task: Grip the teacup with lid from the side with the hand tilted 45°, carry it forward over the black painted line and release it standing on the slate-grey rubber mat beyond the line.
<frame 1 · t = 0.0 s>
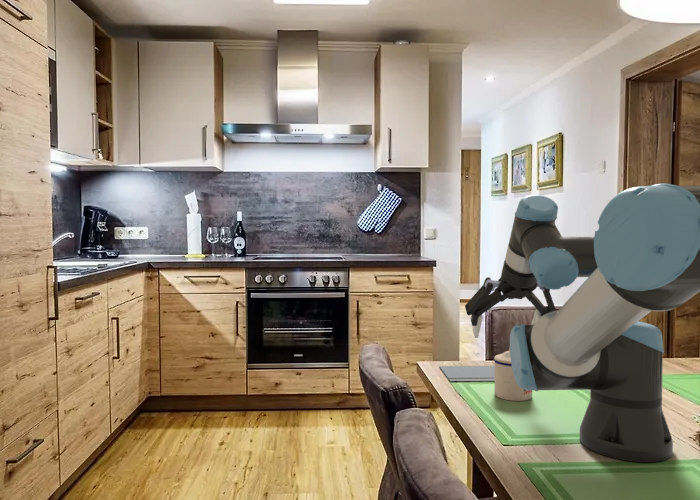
hand: (504, 333, 127), 15 cm above the table, tool tilted 35°, fingers open, 13 cm apart
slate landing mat: (479, 372, 150), on the table
teacup with lid: (513, 395, 130), on the table
black line strip: (489, 380, 142), on the table
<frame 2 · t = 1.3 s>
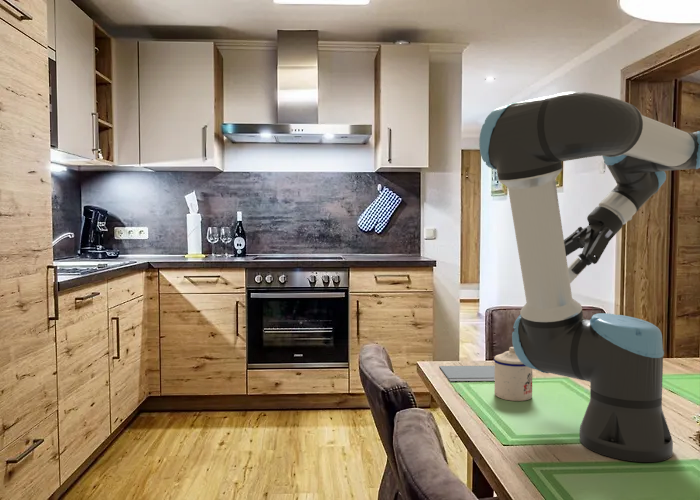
hand: (549, 279, 129), 28 cm above the table, tool tilted 45°, fingers open, 13 cm apart
nothing on the table moved.
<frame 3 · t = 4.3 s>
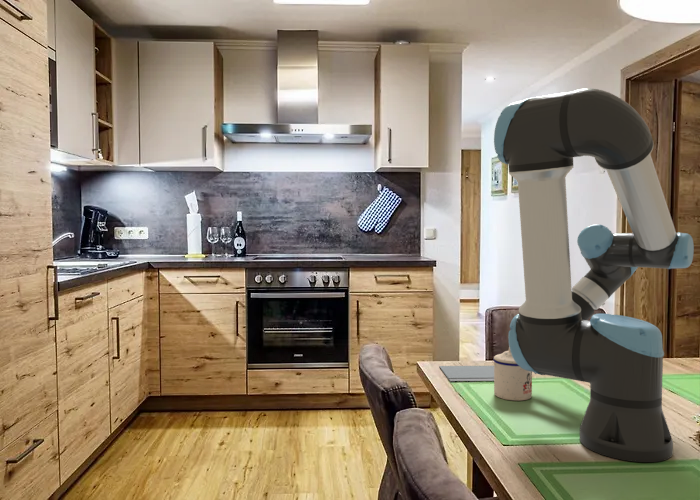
hand: (521, 363, 131), 7 cm above the table, tool tilted 45°, fingers open, 13 cm apart
teacup with lid: (513, 394, 130), on the table, touching gripper
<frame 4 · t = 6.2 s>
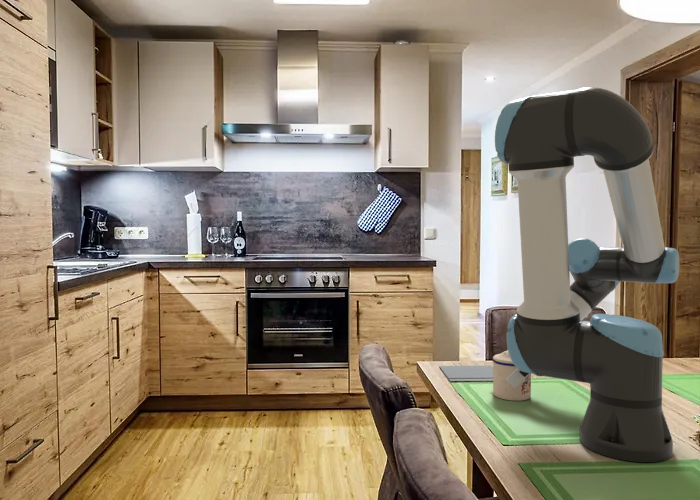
hand: (502, 377, 130), 4 cm above the table, tool tilted 45°, fingers closed on teacup with lid, 11 cm apart
teacup with lid: (512, 394, 130), on the table, touching gripper
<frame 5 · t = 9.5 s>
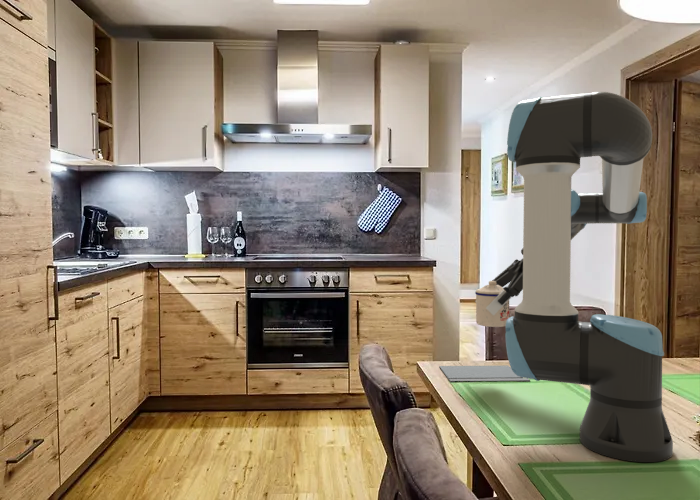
hand: (483, 308, 146), 19 cm above the table, tool tilted 45°, fingers closed on teacup with lid, 11 cm apart
teacup with lid: (493, 323, 147), point 14 cm above the table, touching gripper
when the fingers open (6 cm above the table, at t = 12.6 s): teacup with lid drops 2 cm, resting on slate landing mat.
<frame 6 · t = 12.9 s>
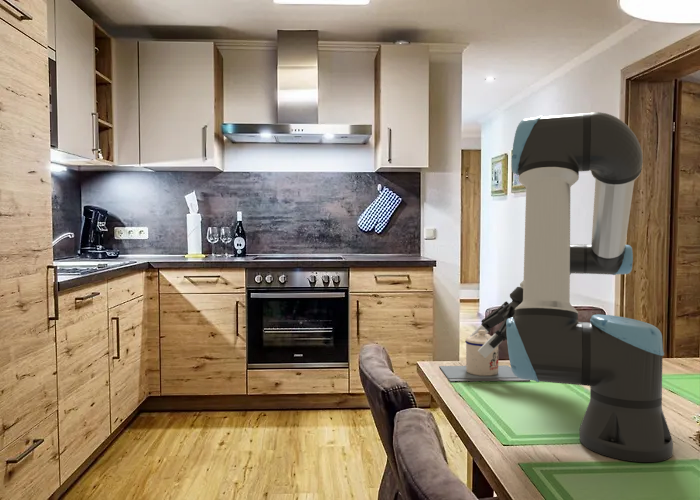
hand: (474, 349, 150), 7 cm above the table, tool tilted 45°, fingers open, 13 cm apart
teacup with lid: (483, 371, 150), resting on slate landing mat
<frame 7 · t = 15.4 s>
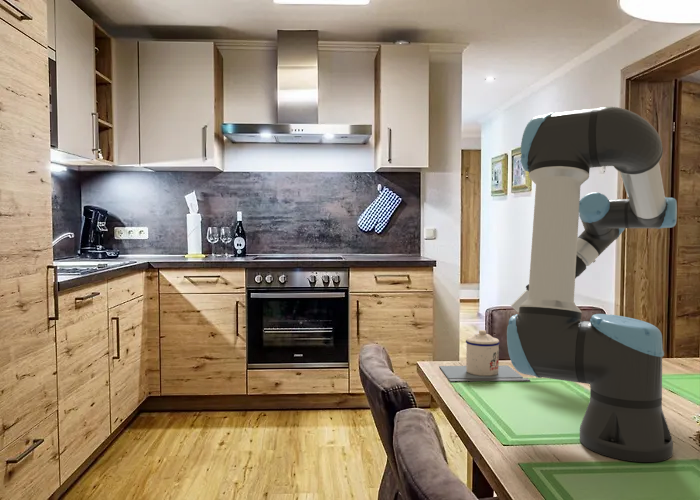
hand: (522, 312, 150), 17 cm above the table, tool tilted 45°, fingers open, 13 cm apart
nothing on the table moved.
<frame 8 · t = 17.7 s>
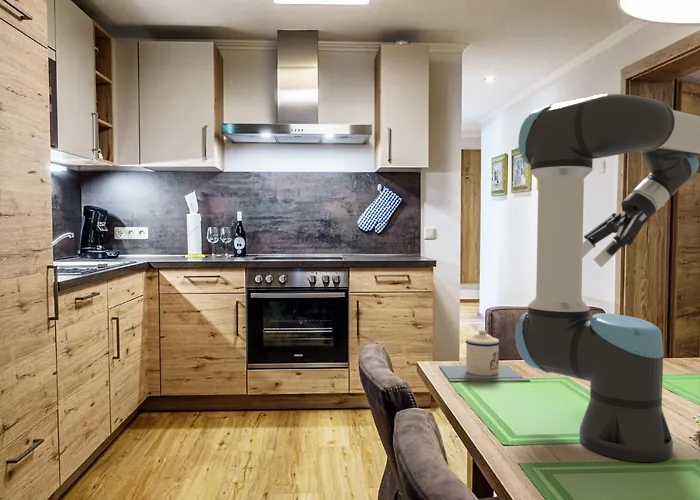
hand: (584, 261, 136), 32 cm above the table, tool tilted 45°, fingers open, 13 cm apart
nothing on the table moved.
at the end: teacup with lid inside the target area (1.1 cm from its centre), resting on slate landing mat; teacup with lid tilted 0°; the gripper is holding nothing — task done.
